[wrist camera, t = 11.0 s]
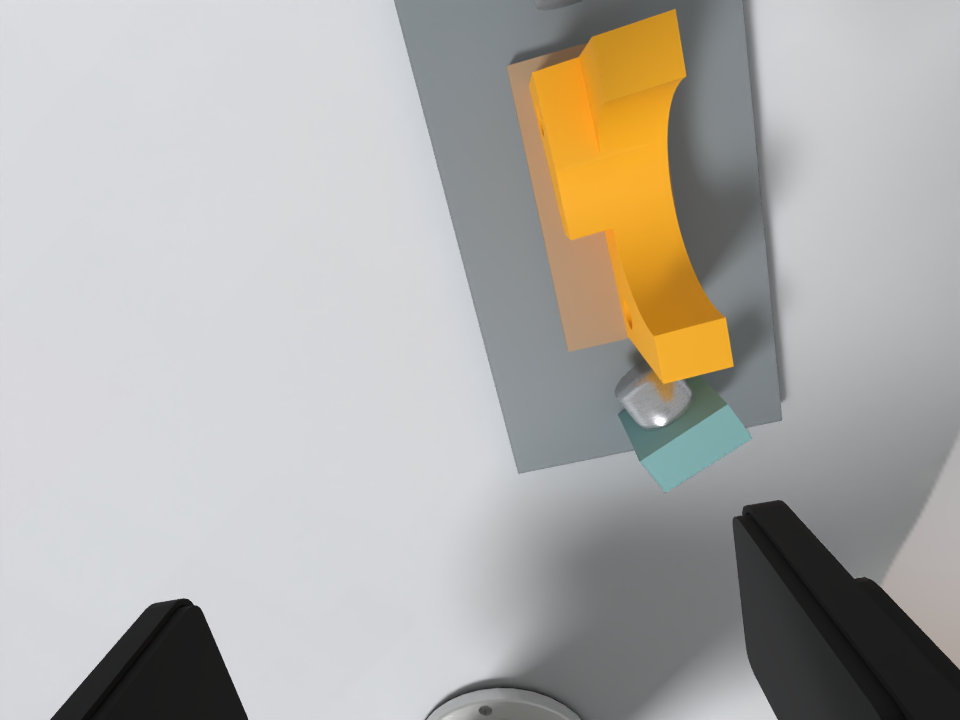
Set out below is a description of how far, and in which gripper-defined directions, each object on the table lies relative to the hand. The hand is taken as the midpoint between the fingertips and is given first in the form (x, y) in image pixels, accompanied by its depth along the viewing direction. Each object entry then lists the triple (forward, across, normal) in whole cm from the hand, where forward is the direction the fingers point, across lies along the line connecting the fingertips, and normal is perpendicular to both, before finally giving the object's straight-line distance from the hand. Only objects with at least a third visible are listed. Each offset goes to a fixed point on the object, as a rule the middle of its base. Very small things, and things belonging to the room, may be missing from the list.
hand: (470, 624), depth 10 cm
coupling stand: (+20, -6, -6) cm, 22 cm away
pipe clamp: (+19, -6, -5) cm, 20 cm away
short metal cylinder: (+19, -8, +5) cm, 21 cm away
